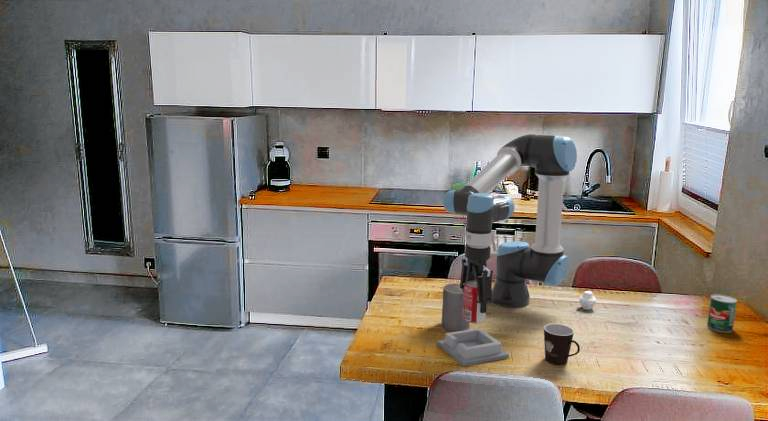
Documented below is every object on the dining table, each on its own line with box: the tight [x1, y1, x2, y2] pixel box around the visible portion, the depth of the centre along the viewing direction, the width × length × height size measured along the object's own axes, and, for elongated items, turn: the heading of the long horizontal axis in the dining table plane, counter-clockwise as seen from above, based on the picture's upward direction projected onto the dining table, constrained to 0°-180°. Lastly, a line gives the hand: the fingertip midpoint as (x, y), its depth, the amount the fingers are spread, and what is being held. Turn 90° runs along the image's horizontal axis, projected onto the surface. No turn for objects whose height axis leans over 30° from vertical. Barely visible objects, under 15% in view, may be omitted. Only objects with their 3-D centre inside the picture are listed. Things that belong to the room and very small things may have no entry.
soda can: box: [463, 280, 483, 325], centre depth 172 cm, size 7×7×12 cm
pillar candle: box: [441, 283, 471, 332], centre depth 192 cm, size 10×10×15 cm
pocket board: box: [437, 327, 510, 367], centre depth 174 cm, size 16×16×4 cm
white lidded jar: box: [578, 290, 597, 311], centre depth 211 cm, size 6×6×7 cm
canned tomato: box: [706, 293, 738, 334], centre depth 195 cm, size 8×8×11 cm
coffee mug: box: [543, 323, 581, 366], centre depth 167 cm, size 12×9×10 cm
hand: (473, 317), depth 173 cm, fingers closed on soda can, 7 cm apart
